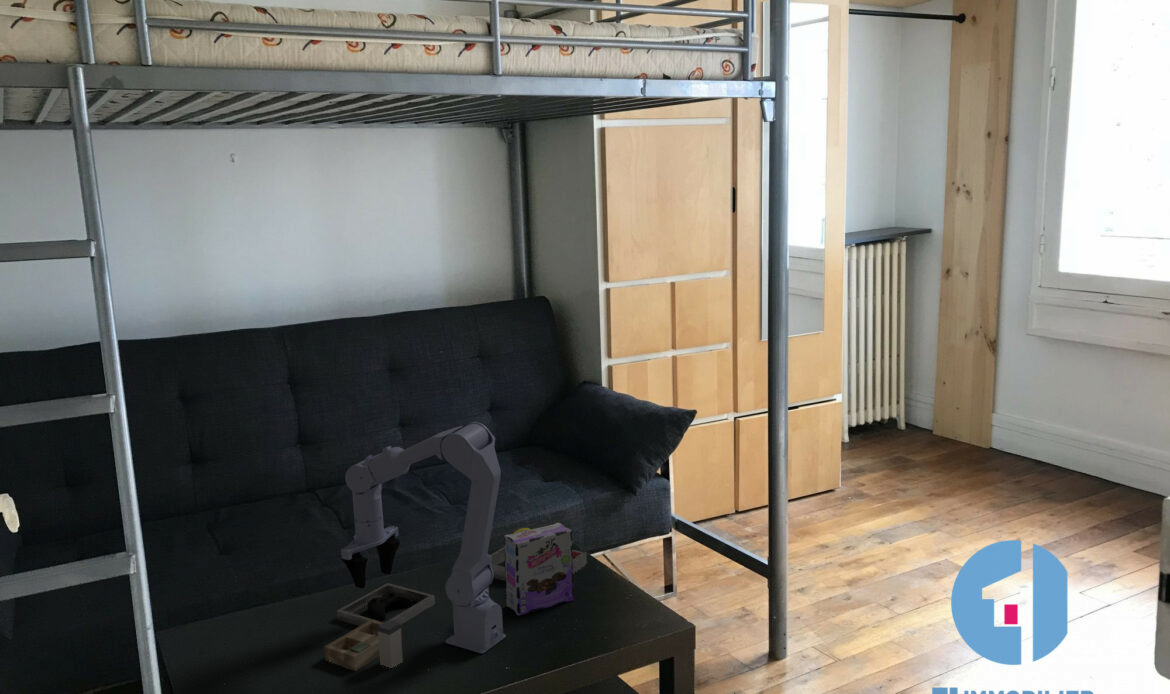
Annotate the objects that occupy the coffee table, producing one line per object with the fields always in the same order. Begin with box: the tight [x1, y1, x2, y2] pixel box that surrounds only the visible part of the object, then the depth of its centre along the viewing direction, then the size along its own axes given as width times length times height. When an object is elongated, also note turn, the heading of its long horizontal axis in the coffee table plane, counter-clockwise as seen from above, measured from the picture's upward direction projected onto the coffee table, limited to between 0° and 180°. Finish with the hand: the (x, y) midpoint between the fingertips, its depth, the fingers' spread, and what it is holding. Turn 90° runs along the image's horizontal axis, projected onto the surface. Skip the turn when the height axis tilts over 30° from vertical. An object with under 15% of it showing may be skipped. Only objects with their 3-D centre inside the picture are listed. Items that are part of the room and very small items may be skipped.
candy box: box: [503, 522, 575, 616], centre depth 205 cm, size 14×6×16 cm, turn 120°
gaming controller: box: [366, 592, 414, 622], centre depth 206 cm, size 10×5×6 cm
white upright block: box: [378, 619, 404, 669], centre depth 182 cm, size 3×3×8 cm
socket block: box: [323, 618, 403, 672], centre depth 188 cm, size 8×13×3 cm, turn 149°
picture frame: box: [336, 582, 436, 627], centre depth 205 cm, size 14×16×2 cm
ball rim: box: [489, 545, 588, 582], centre depth 224 cm, size 20×17×3 cm
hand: (373, 580), depth 198 cm, fingers open, 7 cm apart
